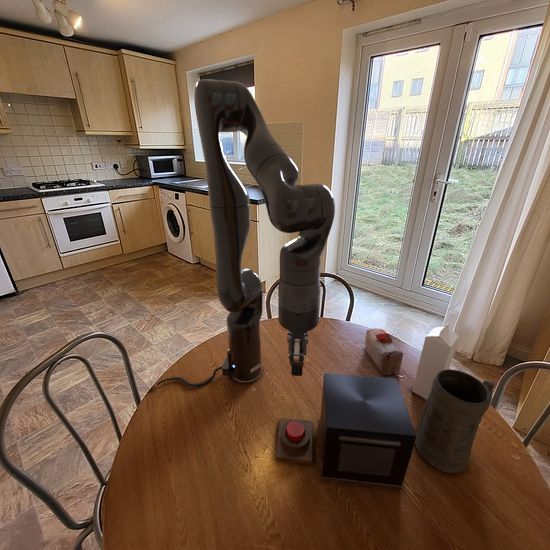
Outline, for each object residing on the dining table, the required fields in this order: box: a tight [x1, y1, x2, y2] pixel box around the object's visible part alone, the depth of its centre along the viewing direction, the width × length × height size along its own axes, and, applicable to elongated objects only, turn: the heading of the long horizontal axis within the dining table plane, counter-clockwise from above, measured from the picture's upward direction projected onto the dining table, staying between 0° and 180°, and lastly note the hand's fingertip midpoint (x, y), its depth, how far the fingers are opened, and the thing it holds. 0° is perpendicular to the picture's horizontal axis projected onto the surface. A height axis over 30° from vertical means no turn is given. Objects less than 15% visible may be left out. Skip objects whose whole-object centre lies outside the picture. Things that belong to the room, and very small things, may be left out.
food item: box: [364, 328, 404, 376], centre depth 92 cm, size 14×8×10 cm, turn 9°
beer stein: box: [414, 369, 496, 474], centre depth 63 cm, size 15×11×20 cm
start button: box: [287, 421, 304, 442], centre depth 67 cm, size 4×4×2 cm
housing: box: [275, 417, 313, 465], centre depth 68 cm, size 8×10×3 cm
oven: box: [319, 372, 417, 490], centre depth 63 cm, size 16×14×16 cm
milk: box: [411, 321, 460, 401], centre depth 77 cm, size 6×6×22 cm
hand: (296, 373), depth 60 cm, fingers closed
